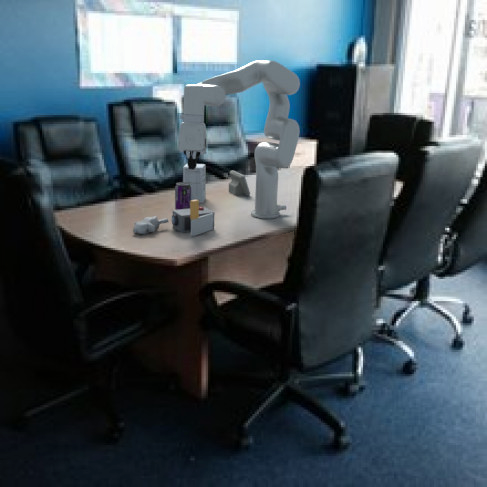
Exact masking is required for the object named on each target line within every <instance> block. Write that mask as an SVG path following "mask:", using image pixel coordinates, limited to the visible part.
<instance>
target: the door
mask: <svg viewBox="0 0 487 487" xmlns="http://www.w3.org/2000/svg"><path fill="white" fill-rule="evenodd" d="M199 207H200V203H199V200H196V199H195V200H191V201H190V219H191V232H190V237H194V236H198V235H200V234H203V233H206V232H210V231H212V230H213V231H214V230H215V212H214V213H210V214H207V215H203V216H200V217H199Z"/></svg>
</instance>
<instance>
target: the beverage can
mask: <svg viewBox="0 0 487 487" xmlns="http://www.w3.org/2000/svg"><path fill="white" fill-rule="evenodd" d="M190 201H191V186H190V183H187V182H183V181H182V182H181V181H180V182H176V183H175V186H174V205H175V206H174V210H180V209H190Z"/></svg>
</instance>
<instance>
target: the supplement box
mask: <svg viewBox="0 0 487 487" xmlns="http://www.w3.org/2000/svg"><path fill="white" fill-rule="evenodd" d="M188 167H189V166H188V163H186V164H185V165H184V166H183V167H182V182H187V183H190V186H191V200H195V199H196V200H199V204H200V203H201V204H203V203H204V201H205V200H206V197H207V196H206V192H207V191H206V185H207V182H206V179H207V177H206V171H207V170H206V163H205V164H204V163H197V166H196V168H195V169H188Z"/></svg>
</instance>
